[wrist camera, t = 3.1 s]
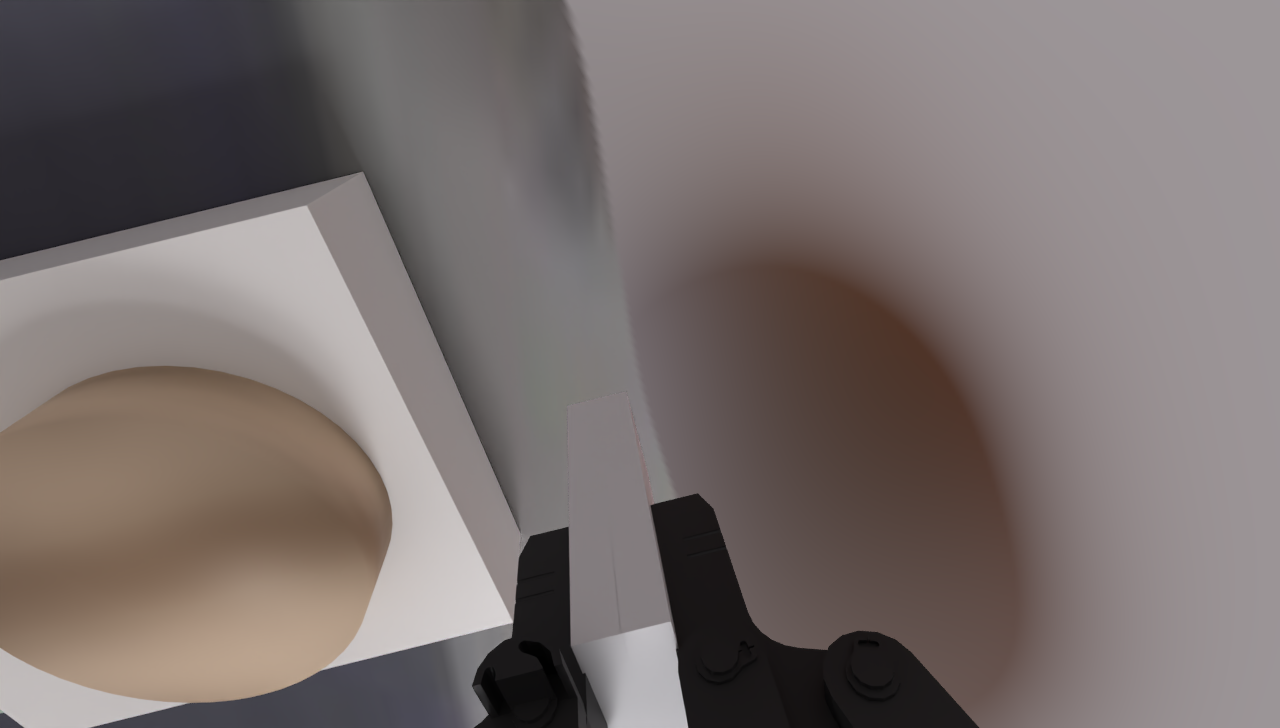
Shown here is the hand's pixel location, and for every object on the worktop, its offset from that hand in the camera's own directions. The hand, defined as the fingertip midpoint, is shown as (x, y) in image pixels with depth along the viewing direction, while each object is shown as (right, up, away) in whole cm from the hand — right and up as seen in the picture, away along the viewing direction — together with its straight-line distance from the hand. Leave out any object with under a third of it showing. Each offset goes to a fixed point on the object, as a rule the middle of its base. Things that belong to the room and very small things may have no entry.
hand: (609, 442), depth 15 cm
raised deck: (-13, -1, +5) cm, 14 cm away
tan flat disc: (-11, -2, +1) cm, 11 cm away
